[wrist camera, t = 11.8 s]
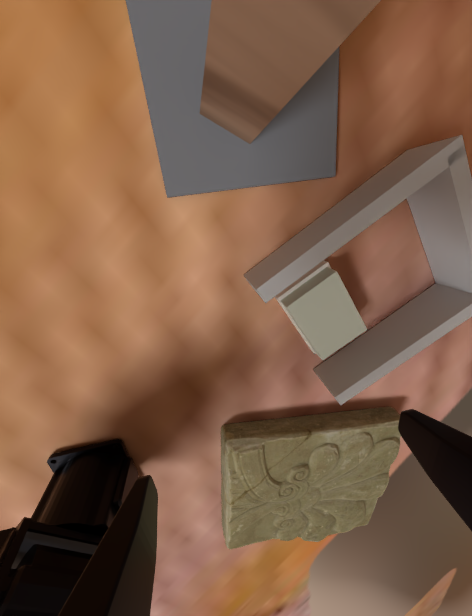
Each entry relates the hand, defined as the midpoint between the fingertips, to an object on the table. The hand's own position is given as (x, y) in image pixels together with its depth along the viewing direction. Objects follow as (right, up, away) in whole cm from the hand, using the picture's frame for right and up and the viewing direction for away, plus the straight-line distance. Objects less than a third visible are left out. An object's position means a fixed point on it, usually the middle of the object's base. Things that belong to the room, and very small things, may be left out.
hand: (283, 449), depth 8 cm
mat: (-1, +19, +7) cm, 20 cm away
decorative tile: (+6, -15, +22) cm, 28 cm away
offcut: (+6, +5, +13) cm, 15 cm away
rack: (+9, +7, +13) cm, 17 cm away
